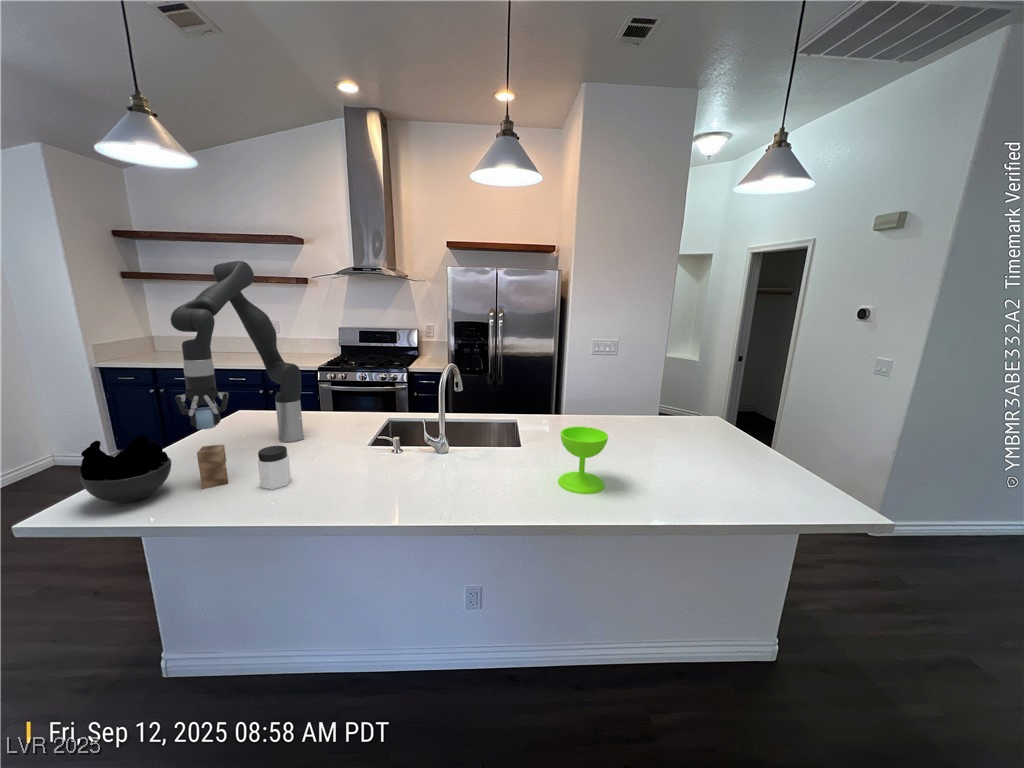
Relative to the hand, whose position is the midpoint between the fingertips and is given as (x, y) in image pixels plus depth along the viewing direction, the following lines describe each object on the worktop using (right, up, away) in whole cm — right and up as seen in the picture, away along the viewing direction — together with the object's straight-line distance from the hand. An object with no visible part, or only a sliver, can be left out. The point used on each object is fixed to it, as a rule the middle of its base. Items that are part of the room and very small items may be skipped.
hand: (206, 425), depth 132 cm
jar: (+20, -20, +4) cm, 29 cm away
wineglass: (+122, -22, +11) cm, 125 cm away
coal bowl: (-17, -22, -7) cm, 28 cm away
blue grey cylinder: (0, -1, 0) cm, 1 cm away
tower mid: (0, -14, +3) cm, 14 cm away
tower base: (0, -20, +4) cm, 20 cm away
